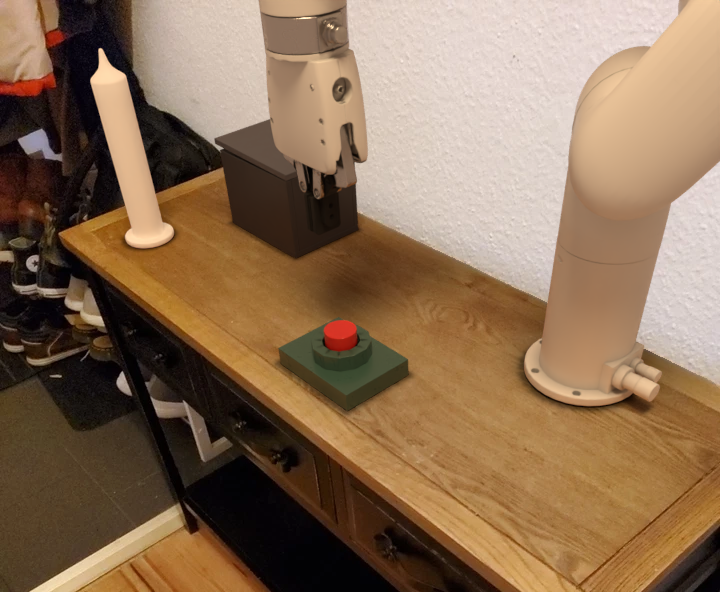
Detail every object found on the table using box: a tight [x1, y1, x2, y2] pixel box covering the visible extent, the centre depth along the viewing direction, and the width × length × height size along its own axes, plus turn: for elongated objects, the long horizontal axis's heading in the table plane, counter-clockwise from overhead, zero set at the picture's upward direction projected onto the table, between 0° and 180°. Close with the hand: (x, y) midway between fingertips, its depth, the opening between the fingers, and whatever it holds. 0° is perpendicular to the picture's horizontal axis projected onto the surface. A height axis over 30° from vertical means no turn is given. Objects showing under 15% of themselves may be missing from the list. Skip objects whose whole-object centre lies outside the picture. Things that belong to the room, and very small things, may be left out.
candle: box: [89, 47, 175, 249], centre depth 101 cm, size 7×7×25 cm
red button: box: [324, 319, 357, 352], centre depth 81 cm, size 4×4×2 cm
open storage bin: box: [219, 148, 359, 259], centre depth 106 cm, size 16×12×11 cm
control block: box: [277, 316, 409, 412], centre depth 83 cm, size 12×9×4 cm
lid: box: [214, 118, 298, 181], centre depth 102 cm, size 17×12×1 cm
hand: (324, 228), depth 78 cm, fingers closed
